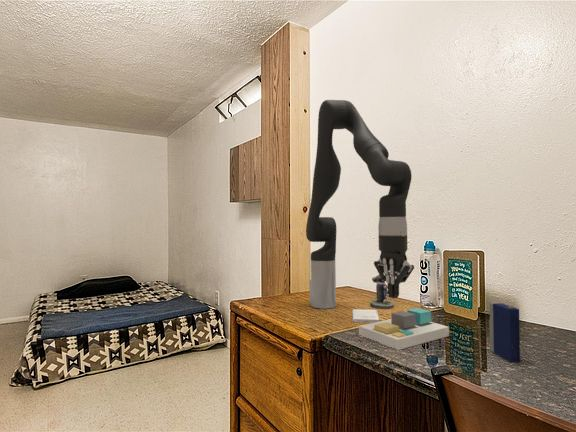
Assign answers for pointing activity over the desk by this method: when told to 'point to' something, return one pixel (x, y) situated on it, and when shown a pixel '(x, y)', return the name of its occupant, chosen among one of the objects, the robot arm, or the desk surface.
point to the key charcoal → (403, 319)
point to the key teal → (421, 315)
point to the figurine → (381, 295)
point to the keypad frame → (405, 334)
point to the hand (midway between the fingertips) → (393, 297)
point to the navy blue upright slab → (504, 331)
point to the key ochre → (386, 328)
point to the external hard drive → (365, 316)
